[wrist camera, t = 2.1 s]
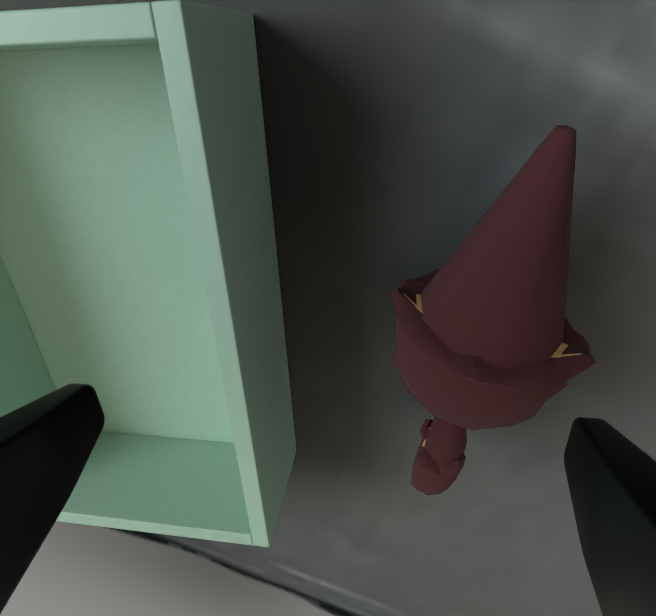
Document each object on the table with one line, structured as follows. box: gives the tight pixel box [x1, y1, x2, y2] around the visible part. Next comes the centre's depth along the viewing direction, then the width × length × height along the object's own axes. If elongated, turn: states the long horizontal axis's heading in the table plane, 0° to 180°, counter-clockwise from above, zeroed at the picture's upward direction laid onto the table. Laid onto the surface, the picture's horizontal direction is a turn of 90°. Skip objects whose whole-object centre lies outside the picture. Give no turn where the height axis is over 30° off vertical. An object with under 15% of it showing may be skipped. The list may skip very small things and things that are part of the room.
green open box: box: [0, 0, 297, 547], centre depth 20 cm, size 15×22×6 cm
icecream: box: [390, 125, 596, 495], centre depth 18 cm, size 7×7×15 cm
